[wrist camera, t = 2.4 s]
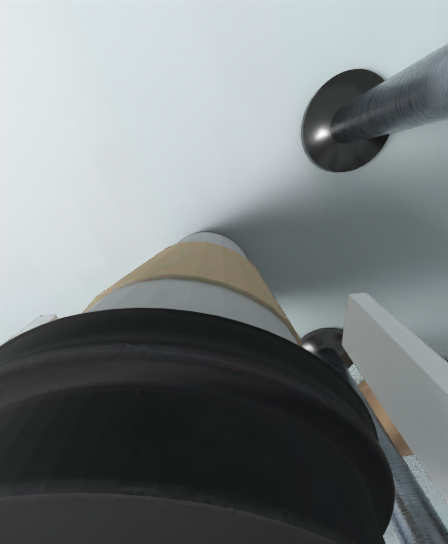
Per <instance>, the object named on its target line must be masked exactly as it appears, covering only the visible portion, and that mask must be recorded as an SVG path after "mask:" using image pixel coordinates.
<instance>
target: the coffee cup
mask: <svg viewBox="0 0 448 544" xmlns="http://www.w3.org/2000/svg"><path fill="white" fill-rule="evenodd" d="M394 503H395V486H394V479H393V475H392V470H391V467H390V465H389V462H388V460H387V457H386V455H385V453H384V451H383V449H382V448H381V446H380V444H379V440H378V436H377V431H376V427H375V425H374V422H373V420H372V417H371V415H370V413H369V411H368V409H367V407H366V406H365V404H364V402H363V400H362V399H361V398H360V396H359V395H358V394H357V393H356V391H355V390H354V389H353V387H352V386H351V385H350V384H349V383H348V382H347V381H346V380H345V379H344V378H343V377H342V376H341V375H340V374H339V373H338V372H336V371H335V370H334V369H333V368H332V367H330V366H329V365H328V364H327V363H325V362H324V361H323V360H321V359H320V358H318V357H317V356H315V355H314V354H312V353H311V352H309V351H308V350H306V349H304V348H303V346H302V343H301V339H300V338H299V336H298V334H297V333H296V331H295V330H294V328H293V326H292V325H291V323H290V321H289V320H288V318H287V317H286V315H285V313H284V312H283V310H282V309H281V307H280V305H279V304H278V302H277V301H276V299H275V297H274V296H273V294H272V293H271V291H270V289H269V288H268V286H267V285H266V283H265V281H264V280H263V278H262V277H261V275H260V273H259V272H258V270H257V269H256V267H255V266H254V265H253V264H251V263H250V262H249V260H248V259H247V257H246V255H245V254H244V252H243V251H242V249H241V248H240V247H239V246H238V245H237V244H236V243H235V242H234V241H232V240H230V239H229V238H227V237H225V236H222V235H220V234H216V233H210V232H200V233H195V234H192V235H189V236H187V237H186V238H184V239H183V240H181V241H180V242H178V243H177V244H176V245H173V246H170V247H167V248H166V249H164V250H163V251H161V252H160V253H158V254H157V255H155V256H154V257H153V258H151V259H150V260H148V261H147V262H145V263H144V264H142V265H141V266H140V267H138V268H137V269H135V270H134V271H132V272H131V273H130V274H128V275H127V276H125V277H124V278H122V279H121V280H120V281H118V282H117V283H115V284H114V285H112V286H111V287H109V288H108V289H107V290H105V291H104V292H102V293H101V294H99V295H98V296H97V297H96V298H95V299H94V300H93V301H92V302H91V303H90V305H89V306H88V307H87V308H86V309H85V310H84V311H83V312H82V314H78V315H73V316H69V317H64V318H60V319H57V320H54V321H51V322H48V323H45V324H42V325H39V326H37V327H35V328H33V329H30V330H28V331H26V332H24V333H21V334H20V335H18V336H16V337H14V338H13V339H11V340H9V341H8V342H6V343H4V344H3V345H1V346H0V544H385V541H384V538H383V535H384V533H385V531H386V529H387V527H388V525H389V522H390V520H391V517H392V513H393V510H394Z"/></svg>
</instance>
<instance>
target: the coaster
mask: <svg viewBox="0 0 448 544" xmlns="http://www.w3.org/2000/svg"><path fill="white" fill-rule="evenodd" d="M358 386H359V388H360V390H361V391H362V393H363V394H364V396H365V398H366V399H367V401H368V402H369V404H370V406H371V407H372V409H373V411H374V412H375V414H376V415H377V417H378V419H379V420H380V422H381V423H382V425H383V427H384V428H385V430H386V432H387V433H388V435H389V436H390V438H391V440H392V441H393V443H394V444H395V446H396V448H397V449H398V451H399V452H400V454H401V456H408V455H414V454H413V452H412V451H411V449H410V448H409V446H408V445H407V443H406V442H405V440H404V439H403V437H402V436H401V434H400V433H399V431H398V430H397V428H396V427H395V425H394V424H393V422H392V420H391V419H390V417H389V416H388V414H387V413H386V411H385V410H384V408H383V407H382V405H381V404H380V402H379V401H378V399H377V398H376V396H375V395H374V393H373V392H372V390H371V389H370V387H369V386H368V384H367V383H366V381H365V380H364V381H362V382H361V383H360V384H359V385H358Z"/></svg>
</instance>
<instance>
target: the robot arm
mask: <svg viewBox="0 0 448 544" xmlns="http://www.w3.org/2000/svg"><path fill="white" fill-rule="evenodd" d="M57 319H58V317H57V315H43V316H40V317H38V318H37V319H36V320H34V321H33V322H32V323H30V324H29V325H28V326H26V327H25V328H24V329H22V330H21V331H20V332H18V333H17V334H16V335H14V336H13V337H12V338H10V339H9V340H11V339H13V338H14V337H16V336H18V335H20V334H21V333H24V332H26V331H28V330H30V329H33V328H35V327H37V326H39V325H42V324H45V323H48V322H51V321H54V320H57ZM9 340H8V341H9ZM8 341H6V342H8ZM6 342H5V343H6ZM342 346H343V348H344V349H345V351H346V352H347V354H348V355H349V357H350V358H351V360H352V361H353V363H354V364H355V366H356V367H357V369H358V370H359V372H360V373H361V375H362V376H363V378H364V379H365V381H366V383H367V384H368V386H369V387H370V389H371V390H372V392H373V393H374V395H375V396H376V398H377V399H378V401H379V402H380V404H381V405H382V407H383V408H384V410H385V411H386V413H387V414H388V416H389V417H390V419H391V420H392V422H393V424H394V425H395V427H396V428H397V430H398V431H399V433H400V434H401V436H402V437H403V439H404V440H405V442H406V443H407V445H408V446H409V448H410V449H411V451H412V452H413V454H414V455H415V457H416V458H417V460H418V461H419V463H420V464H421V466H422V468H423V469H424V471H425V472H426V474H427V475H428V477H429V478H430V480H431V481H432V483H433V484H434V486H435V487H436V489H437V490H438V492H439V493H440V495H441V496H442V498H443V499H444V501H445V502H446V504H447V505H448V362H446V361H445V360H444V359H443V358H442V357H441V356H439V355H438V354H437V353H436V352H435V351H434V350H433V349H431V348H430V347H429V346H428V345H427V344H426V343H424V342H423V341H422V340H421V339H420V338H419V337H417V336H416V335H415V334H414V333H413V332H412V331H411V330H409V329H408V328H407V327H406V326H405V325H404V324H402V323H401V322H400V321H399V320H398V319H397V318H395V317H394V316H393V315H392V314H391V313H390V312H389V311H387V310H386V309H385V308H384V307H383V306H382V305H380V304H379V303H378V302H377V301H376V300H375V299H374V298H372V297H371V296H370V295H369V294H368V293H367V292H366V293H352V294H348V300H347V307H346V315H345V323H344V331H343V339H342Z"/></svg>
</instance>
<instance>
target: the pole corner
mask: <svg viewBox="0 0 448 544" xmlns="http://www.w3.org/2000/svg"><path fill="white" fill-rule="evenodd" d="M342 339H343V332H342V331H340V330H337V329H332V328H324V329H318V330H315V331H313V332H310V333H309V334H307V335H306V336H304V337H303V338H302V339H301V343H302V346H303V348H304V349H306V350H308V351H309V352H311V353H312V354H314V355H315V356H317V357H318V358H320V359H321V360H323V361H324V362H325V363H327V364H328V365H329V366H330V367H332V368H333V369H334V370H335V371H336V372H338V373H339V374H340V375H341V376H342V377H343V378H344V379H345V380H346V381H347V382H348V383H349V384H350V385H351V386H352V387H353V389H354V390H355V391H356V393H357V394H358V395H359V396H360V398H361V399H362V400H363V402H364V404H365V406H366V407H367V409H368V411H369V413H370V415H371V417H372V420H373V422H374V425H375V427H376V431H377V436H378V440H379V444H380V446H381V448H382V449H383V451H384V453H385V455H386V457H387V460H388V462H389V465H390V467H391V470H392V475H393V479H394V486H395V503H394V510H393V513H392V517H391V520H390V522H391V525H392V527H393V529H394V531H395V533H396V535H397V537H398V539H399V542H400V544H448V530H447V528H446V527H445V525H444V523H443V522H442V520H441V519H440V517H439V515H438V514H437V512H436V511H435V509H434V507H433V506H432V504H431V502H430V501H429V499H428V498H427V496H426V494H425V493H424V491H423V490H422V488H421V486H420V485H419V483H418V481H417V480H416V478H415V477H414V475H413V473H412V472H411V470H410V469H409V467H408V465H407V464H406V462H405V461H404V459H403V457H402V456H401V454H400V452H399V451H398V449H397V448H396V446H395V444H394V443H393V441H392V440H391V438H390V436H389V435H388V433H387V432H386V430H385V428H384V427H383V425H382V423H381V422H380V420H379V419H378V417H377V415H376V414H375V412H374V411H373V409H372V407H371V406H370V404H369V402H368V401H367V399H366V398H365V396H364V394H363V393H362V391H361V390H360V388H359V386H358V385H357V383H356V382H355V380H354V378H353V377H352V375H351V373H350V372H349V370H348V369H349V368H350V366H351V365H352V364H353V361H352V360H351V358H350V357H349V355H348V354H347V352H346V351H345V349H344V348H343V346H342Z"/></svg>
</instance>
